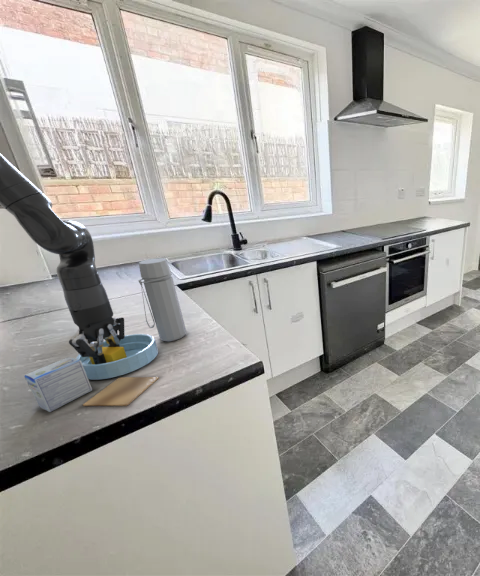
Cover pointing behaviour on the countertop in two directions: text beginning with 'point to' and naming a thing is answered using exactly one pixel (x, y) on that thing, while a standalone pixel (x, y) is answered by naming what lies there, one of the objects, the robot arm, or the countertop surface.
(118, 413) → the countertop surface
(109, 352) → the sponge
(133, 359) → the basin
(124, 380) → the mat
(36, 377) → the medicine box
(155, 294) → the water bottle
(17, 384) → the countertop surface
